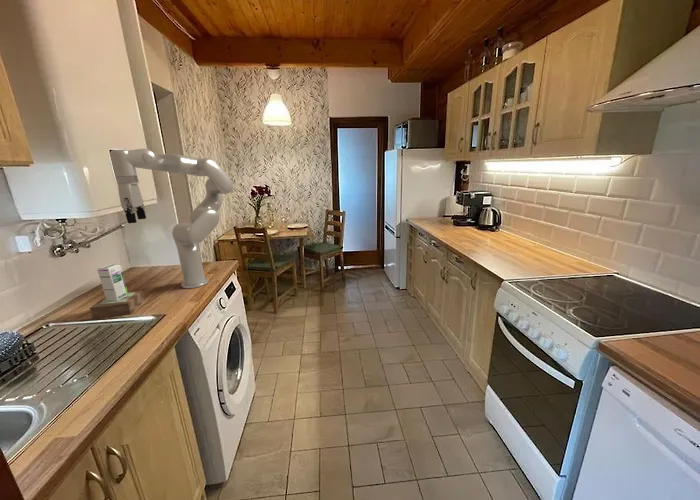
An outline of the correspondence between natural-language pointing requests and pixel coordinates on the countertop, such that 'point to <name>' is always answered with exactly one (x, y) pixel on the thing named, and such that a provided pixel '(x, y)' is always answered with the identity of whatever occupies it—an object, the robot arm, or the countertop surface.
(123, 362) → the countertop surface
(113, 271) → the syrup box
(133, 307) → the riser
